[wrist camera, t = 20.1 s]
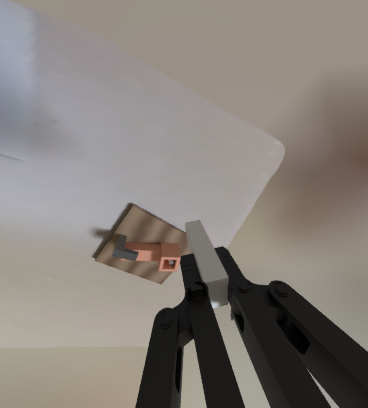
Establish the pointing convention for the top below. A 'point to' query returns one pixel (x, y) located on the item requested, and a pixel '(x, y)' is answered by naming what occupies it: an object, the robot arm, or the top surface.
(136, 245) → the link
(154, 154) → the top surface
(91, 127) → the top surface
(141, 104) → the top surface
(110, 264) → the board
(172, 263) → the peg
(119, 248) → the bracket
